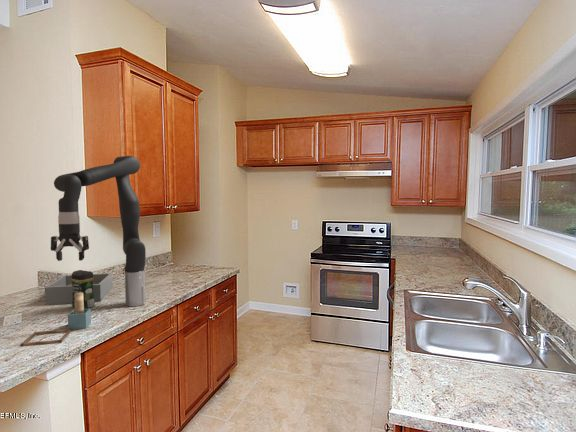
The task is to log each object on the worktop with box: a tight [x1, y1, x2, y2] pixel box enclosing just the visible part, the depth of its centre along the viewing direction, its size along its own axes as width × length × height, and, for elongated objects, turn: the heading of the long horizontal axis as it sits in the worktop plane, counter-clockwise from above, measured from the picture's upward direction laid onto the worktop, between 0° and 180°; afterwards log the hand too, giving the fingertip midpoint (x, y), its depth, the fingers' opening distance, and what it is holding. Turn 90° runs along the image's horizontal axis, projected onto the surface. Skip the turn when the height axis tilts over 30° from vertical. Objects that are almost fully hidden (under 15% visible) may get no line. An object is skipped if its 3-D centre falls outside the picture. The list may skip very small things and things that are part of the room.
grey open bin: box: [44, 273, 114, 306], centre depth 188 cm, size 25×25×9 cm
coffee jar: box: [71, 269, 95, 309], centre depth 169 cm, size 10×8×19 cm
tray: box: [20, 328, 73, 347], centre depth 132 cm, size 13×11×2 cm
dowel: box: [74, 292, 84, 314], centre depth 144 cm, size 3×3×14 cm
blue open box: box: [67, 307, 92, 331], centre depth 144 cm, size 7×7×7 cm
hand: (70, 260), depth 145 cm, fingers open, 8 cm apart
